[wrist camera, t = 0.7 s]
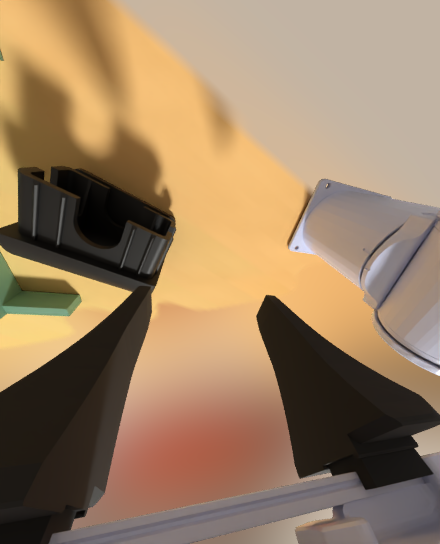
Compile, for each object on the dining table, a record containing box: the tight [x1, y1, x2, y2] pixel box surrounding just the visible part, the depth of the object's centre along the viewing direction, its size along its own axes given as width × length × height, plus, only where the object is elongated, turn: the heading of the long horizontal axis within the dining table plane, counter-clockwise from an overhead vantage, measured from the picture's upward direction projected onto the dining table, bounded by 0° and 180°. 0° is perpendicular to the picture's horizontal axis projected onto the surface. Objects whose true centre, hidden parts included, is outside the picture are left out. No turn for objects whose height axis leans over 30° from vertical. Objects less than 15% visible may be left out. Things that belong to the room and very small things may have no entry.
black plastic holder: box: [0, 166, 176, 293], centre depth 14 cm, size 10×7×7 cm
